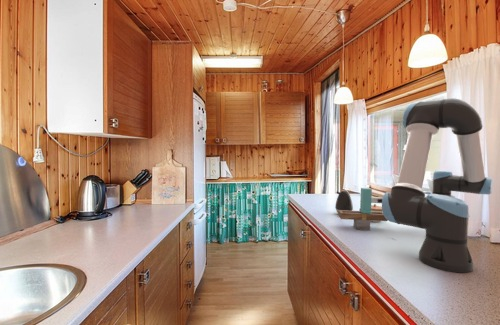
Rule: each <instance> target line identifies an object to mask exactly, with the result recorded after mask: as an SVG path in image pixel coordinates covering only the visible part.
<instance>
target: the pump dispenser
mask: <svg viewBox="0 0 500 325" xmlns="http://www.w3.org/2000/svg"><path fill="white" fill-rule="evenodd" d="M336 194H338V195H337V198H336V202H335V207H334V208H335V210H336V213H337V214H338V210H348V211H354V205H353V199H352V196H351V194H350V192H349V191H348V190H346V189H343V190H340V191H336Z"/></svg>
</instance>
